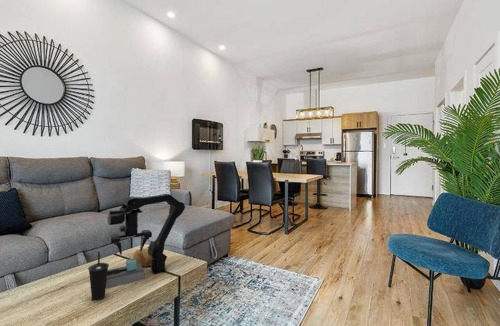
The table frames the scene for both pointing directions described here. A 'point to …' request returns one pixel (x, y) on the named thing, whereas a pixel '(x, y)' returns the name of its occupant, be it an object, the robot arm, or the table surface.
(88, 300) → the table surface
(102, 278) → the drinking cup
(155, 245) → the robot arm
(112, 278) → the keyhole plate
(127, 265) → the peg
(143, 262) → the bread roll
